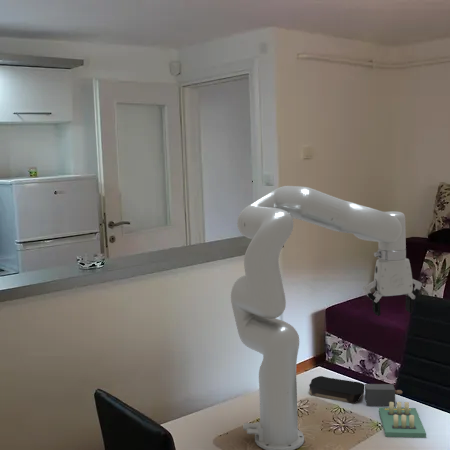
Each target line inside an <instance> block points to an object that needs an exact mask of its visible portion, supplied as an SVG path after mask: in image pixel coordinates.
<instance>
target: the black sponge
mask: <svg viewBox="0 0 450 450" xmlns="http://www.w3.org/2000/svg"><path fill="white" fill-rule="evenodd" d="M310 381H311V382H310V383H309V384H308V386H309V390H308V392H309V395H310V394H311V396H312V395H316V396H315V397H319V396H320V398H324V397H325V398H326V399H331V400H334V401H340V402H345V403H349V404H355V403H357V402H359V400H360V399H361V397H362V395H365V383H362V382H359V381H353V380H346V379H339V378H334V377H328V376H327V377H326V376H322V375H321V376H320V375H319V376H316V377H314V378H312V379H311V380H310Z"/></svg>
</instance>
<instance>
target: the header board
mask: <svg viewBox="0 0 450 450" xmlns="http://www.w3.org/2000/svg"><path fill="white" fill-rule="evenodd" d="M378 414H379V418H380V421H381V425H382V428H383V431H384V435H385V437H387V438H424V439H425V438H427V432H426V430H425V427H424V425H423V423H422V420H421V418H420V415H419V413H418V410H417V408H416V407H410V401H409V402H408V401H405V402H404V407H402V401H397V402H396V407H394V402H389V406H388V407H386V406H378Z"/></svg>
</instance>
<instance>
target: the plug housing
mask: <svg viewBox="0 0 450 450" xmlns="http://www.w3.org/2000/svg"><path fill="white" fill-rule="evenodd" d="M364 385H365V386H364V401H365V404H366V405H365V406H366V407H389V402H394V408H396V395H402V394H403V391H402V390H401V389H397V390H396V388H395V386H394V384H393V383H390V384H389V383H388V384H387V383H364Z"/></svg>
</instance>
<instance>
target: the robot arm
mask: <svg viewBox="0 0 450 450" xmlns="http://www.w3.org/2000/svg"><path fill="white" fill-rule="evenodd" d="M294 219H295V220H299V221H303V222H306V223H309V224H311V225H316V226H318V227H322V228H323V229H328V230H330V231H335V232H338V233H346V234H353V236H354V237H355V238H357V239H359V240H362V241H368V242H375V243H376V242H377V243H378V249H377V251H376V252H375V251H374V252H373V256H374V257H375V258H377V259H376V262H375V267H374V275H373V276H374V277H373V281H371V282H369V283H368V284H366V285H364V286H363V287H362V289H363V291H364V292H365V295H366V297H368V298H369V299H370V300H371V301H372V312H373V313H374V315H376V316H377V317H380V316H381V302H380V299H382V297H393V296H404V295H405V311H406V312H407V313H410V314H413V310H414V308H415V307H414V300H415V299H416V296H417V295H418V294H419V293H420V290H421V288H422V286H423V282H421V281H419V280H416V279H414V278H413V272H412V267H411V263H410V262H411V261H410V259H409V258H407V248H406V247H407V245H406V243H407V242H406V239H407V237H406V215H405V214H404V213H403V212H401V211H394V210H393V211H392V210H391V211H382V210H380V209H379V210H378V209H376V208H372V207H368V206H365V205H362V204H358V203H355V202H352V201H347V200H344V199H342V198H339V197H336V196H333V195H331V194H328V193H325V192H322V191H320V190H317V189H314V188H311V187H308V186H300V185H296V186H295V185H283V186H280V187H277V188H275V189H273V190H272V191H270V192H268V193H267V194H265V195H263V196H261V197H260V198H259V199H256V200H255V201H253V202H252V203H250V204H248V205H247V206H245V207H244V208H243V209H242V211H241V212H240V213H239V215H238V217H237V223H236V224H237V228H238V231H239V232H240V233H241V235H242V236H244V237H245V238H247V239H250V240H251V241H250V243H249V244H248V246H247V248H246V251H245V254H244V257H243V266H244V267H243V269H244V273H245V275H243V276H241V277H239V278H237V280H236V281H235V282H234V283H233V286H232V288H231V292H230V303H231V308H232V311H233V312H232V313H233V318H234V321H235V325H236V330H237V333H238V337H239V339H240V340H241V342H242V344H243V345H244V346H246V347H247V348H249V349H251V350H253V351H255V352H257V353H259V354H262V356H263V357H262V362H261V364H260V366H259V370H258V386H259V387H258V391H259V392H258V393H259V396H258V397H259V421H256V422H255V423H254V422H253V423H251V422H243V427H242V428H243V431H246V432H247V433H246V434H247V435H254V442H255V444H256V445H257V446H258V447H260V448H261V449H263V450H296V449H299V448H300V447H301V446H303V444H304V443H305V435H304V433H303V431H301V430H299V426H298V425H299V424H298V423H299V421H298V420H299V419H298V393H297V392H298V390H297V388H298V387H297V383H298V382H297V361H298V354H299V349H300V335H299V333H298V331H297V330H296V328H295V327H294V326H293V325H291V324H290V323H288V322H286V321H284V320H281V319H278V317H281V316H282V315H283V313H284V312H285V310H286V305H287V301H286V295H285V294H286V293H285V289H284V285H283V284H284V283H283V280H282V275H281V270H280V269H281V268H280V255H281V251H282V249H283V247H284V245H285V244H286V242H287V241H288V239H290V237H291V235H292V233H293V231H294ZM413 286H414V287H413ZM371 289H373V290H374V293H372V292H371Z"/></svg>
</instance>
